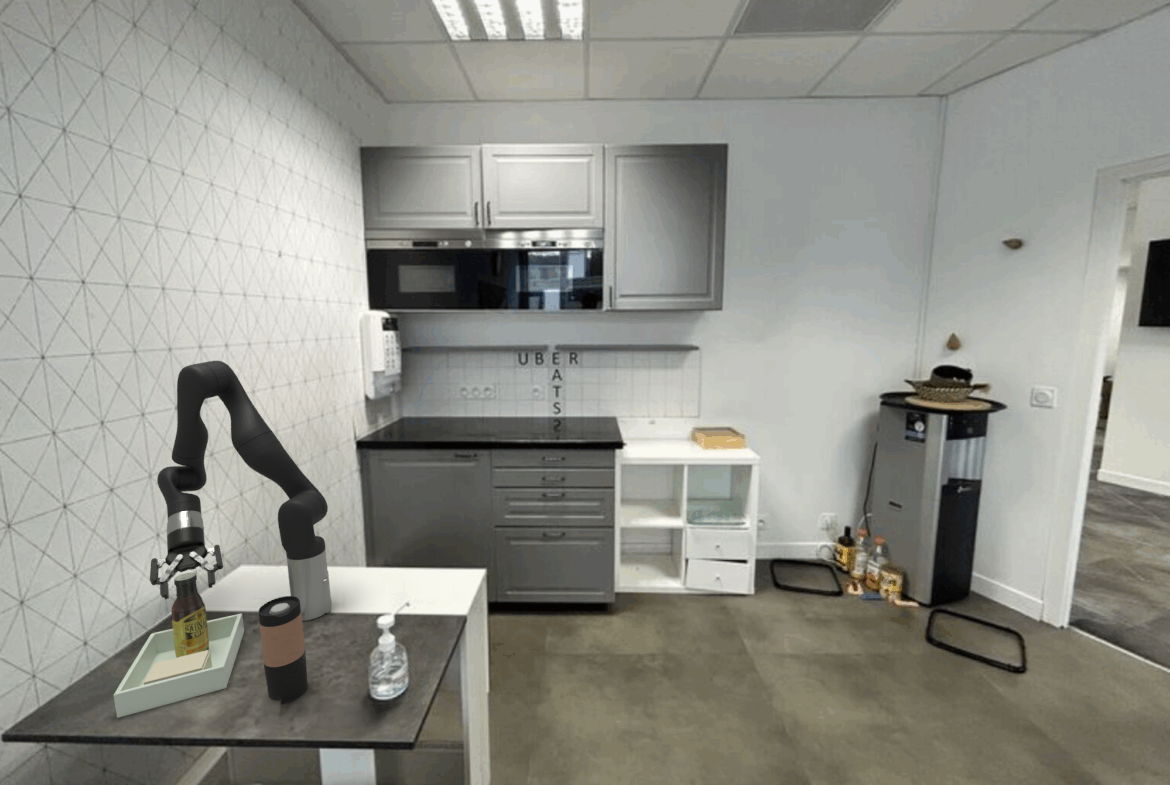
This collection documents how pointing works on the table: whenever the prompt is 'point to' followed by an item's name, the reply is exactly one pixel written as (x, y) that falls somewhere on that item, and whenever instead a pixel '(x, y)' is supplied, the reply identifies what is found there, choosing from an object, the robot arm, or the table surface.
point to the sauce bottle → (189, 617)
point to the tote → (160, 648)
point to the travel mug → (283, 648)
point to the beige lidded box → (179, 666)
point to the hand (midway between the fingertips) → (189, 592)
